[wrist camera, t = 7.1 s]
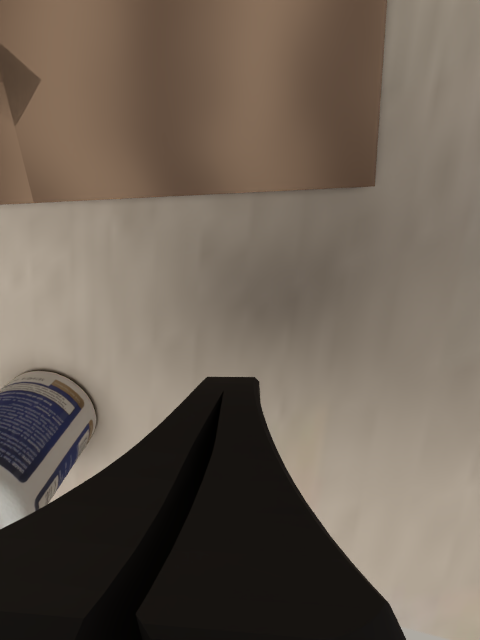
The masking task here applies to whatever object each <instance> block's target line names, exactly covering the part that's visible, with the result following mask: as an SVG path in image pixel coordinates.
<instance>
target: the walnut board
mask: <svg viewBox="0 0 480 640" xmlns="http://www.w3.org/2000/svg"><path fill="white" fill-rule="evenodd" d="M386 8H387V0H0V205H1V204H21V203H42V202H62V201H82V200H103V199H123V198H144V197H164V196H184V195H205V194H225V193H246V192H266V191H286V190H307V189H327V188H348V187H368V186H375V173H376V158H377V143H378V128H379V113H380V98H381V83H382V68H383V53H384V38H385V23H386Z"/></svg>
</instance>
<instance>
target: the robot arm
mask: <svg viewBox="0 0 480 640" xmlns="http://www.w3.org/2000/svg"><path fill="white" fill-rule="evenodd" d="M0 640H406V638H405V636H404V634H403V632H402V630H401V627H400V625H399V623H398V621H397V619H396V617H395V615H394V613H393V611H392V608H391V606H390V604H389V603H388V602H387V601H386V600H385V599H384V597H383V596H382V595H381V594H380V593H379V592H378V591H377V590H376V589H375V588H374V587H373V586H372V585H371V583H370V582H369V581H368V580H367V579H366V578H365V577H364V576H363V575H362V573H361V572H360V571H359V570H358V569H357V568H356V567H355V565H354V564H353V563H352V562H351V561H350V560H349V558H348V557H347V556H346V555H345V553H344V552H343V551H342V550H341V549H340V547H339V546H338V545H337V544H336V542H335V541H334V540H333V539H332V537H331V536H330V535H329V533H328V532H327V531H326V529H325V528H324V526H323V525H322V524H321V522H320V521H319V519H318V518H317V517H316V515H315V514H314V512H313V511H312V510H311V508H310V507H309V505H308V504H307V503H306V501H305V499H304V498H303V496H302V495H301V493H300V491H299V490H298V488H297V487H296V485H295V483H294V482H293V480H292V478H291V476H290V474H289V473H288V471H287V469H286V467H285V465H284V463H283V461H282V459H281V457H280V455H279V453H278V451H277V449H276V446H275V444H274V442H273V440H272V437H271V435H270V432H269V430H268V427H267V424H266V421H265V418H264V415H263V412H262V408H261V404H260V388H259V381H258V380H257V379H256V378H255V377H207V378H205V379H204V380H203V381H202V382H201V383H200V384H199V385H198V386H197V387H196V388H195V389H194V391H193V392H192V393H191V394H190V395H189V396H188V397H187V398H186V399H185V400H184V401H183V402H182V403H181V404H180V405H179V406H178V407H177V408H176V409H175V410H174V411H173V412H172V413H171V414H170V415H169V416H168V417H167V418H166V419H165V420H164V421H163V422H162V423H161V424H159V425H158V426H157V427H156V428H155V429H154V430H153V431H152V432H150V433H149V434H148V435H147V436H146V437H145V438H144V439H142V440H141V441H140V442H139V443H138V444H137V445H135V446H134V447H133V448H132V449H130V450H129V451H128V452H127V453H125V454H124V455H123V456H121V457H120V458H119V459H117V460H116V461H115V462H113V463H112V464H110V465H109V466H108V467H106V468H105V469H103V470H102V471H101V472H99V473H98V474H96V475H95V476H93V477H92V478H90V479H88V480H87V481H85V482H84V483H82V484H80V485H79V486H77V487H75V488H74V489H72V490H71V491H69V492H67V493H66V494H64V495H63V496H61V497H59V498H58V499H56V500H54V501H53V502H51V503H49V504H47V505H46V506H44V507H42V508H40V509H38V510H36V511H35V512H33V513H31V514H29V515H27V516H25V517H23V518H22V519H20V520H18V521H16V522H14V523H12V524H10V525H8V526H6V527H4V528H2V529H0Z"/></svg>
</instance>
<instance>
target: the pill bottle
mask: <svg viewBox="0 0 480 640" xmlns="http://www.w3.org/2000/svg"><path fill="white" fill-rule="evenodd" d="M95 426H96V414H95V410H94V407H93V405H92V402H91V400H90V399H89V397H88V396H87V394H86V393H85V392H84V391H83V390H82V389H81V388H80V387H79V386H78V385H77V384H75V383H74V382H73V381H71V380H70V379H68V378H66V377H64V376H61V375H59V374H57V373H53V372H46V371H32V372H27V373H24V374H21V375H19V376H17V377H16V378H14V379H13V380H12V381H10V382H9V383H8V384H7V385H6V386H4V387H3V388H2V389H1V390H0V529H2V528H4V527H6V526H8V525H10V524H12V523H14V522H16V521H18V520H20V519H22V518H23V517H25V516H27V515H29V514H31V513H33V512H35V511H36V510H38V509H40V508H42V507H44V506H46V505H47V504H48V503H49V501H50V500H51V498H52V497H53V496H54V494H55V492H56V491H57V489H58V488H59V486H60V485H61V483H62V481H63V480H64V478H65V477H66V475H67V474H68V472H69V471H70V469H71V468H72V466H73V465H74V463H75V462H76V460H77V459H78V457H79V456H80V454H81V453H82V451H83V450H84V448H85V446H86V445H87V443H88V442H89V440H90V438H91V436H92V435H93V432H94V430H95Z"/></svg>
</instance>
